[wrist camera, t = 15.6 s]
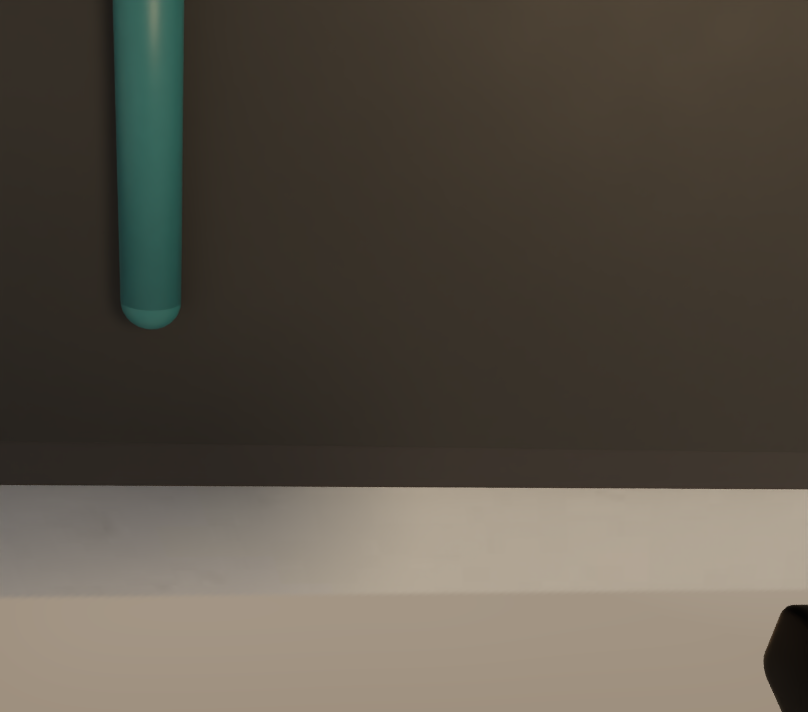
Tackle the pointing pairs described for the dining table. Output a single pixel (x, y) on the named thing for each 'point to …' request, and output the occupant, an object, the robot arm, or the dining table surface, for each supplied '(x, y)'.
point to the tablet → (419, 248)
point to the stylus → (149, 156)
